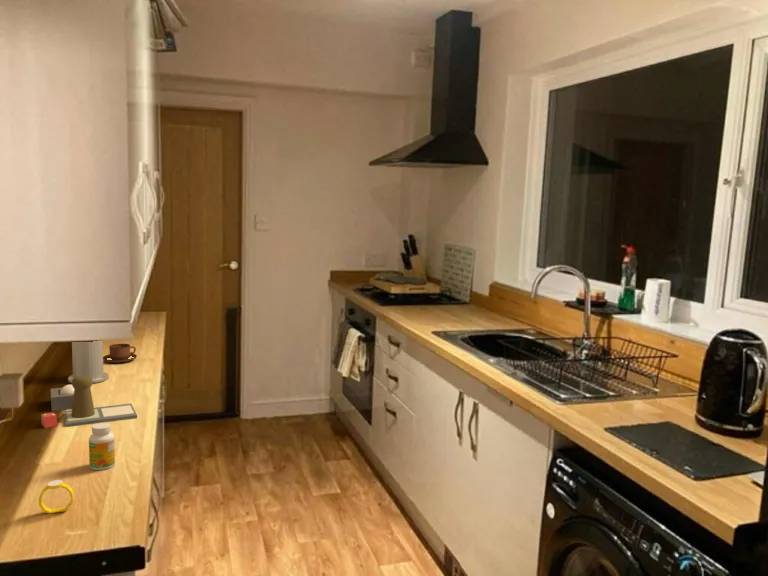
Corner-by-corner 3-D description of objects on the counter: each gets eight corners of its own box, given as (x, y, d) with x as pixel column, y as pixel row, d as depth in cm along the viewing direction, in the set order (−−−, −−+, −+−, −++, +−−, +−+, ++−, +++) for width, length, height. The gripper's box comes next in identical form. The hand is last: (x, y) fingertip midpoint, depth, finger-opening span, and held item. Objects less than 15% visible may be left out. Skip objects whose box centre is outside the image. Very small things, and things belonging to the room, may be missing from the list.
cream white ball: (59, 400, 193) (59, 383, 192) (79, 398, 195) (78, 381, 195) (60, 405, 188) (59, 388, 187) (80, 403, 191) (80, 386, 190)
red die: (41, 425, 173) (41, 414, 173) (53, 422, 175) (53, 411, 175) (45, 428, 171) (44, 416, 171) (57, 425, 173) (56, 414, 173)
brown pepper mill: (85, 418, 177) (84, 380, 175) (66, 416, 178) (65, 378, 176) (99, 412, 182) (98, 374, 181) (80, 410, 184) (79, 373, 182)
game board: (64, 413, 183) (64, 410, 183) (131, 406, 192) (131, 403, 192) (66, 426, 173) (66, 423, 172) (137, 417, 181) (137, 414, 181)
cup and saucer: (121, 356, 254) (121, 341, 253) (143, 360, 249) (143, 344, 248) (96, 362, 243) (95, 346, 242) (118, 366, 238) (118, 350, 237)
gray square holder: (50, 401, 194) (50, 388, 193) (87, 397, 199) (86, 385, 198) (51, 411, 185) (51, 397, 185) (89, 406, 190) (89, 393, 189)
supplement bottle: (84, 469, 146) (83, 428, 144) (98, 460, 151) (97, 420, 150) (106, 471, 145) (105, 430, 143) (119, 462, 150) (118, 422, 149)
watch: (75, 506, 128) (74, 478, 127) (73, 512, 125) (72, 483, 125) (41, 510, 126) (40, 481, 125) (38, 516, 123) (37, 487, 123)
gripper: (72, 266, 188) (74, 323, 191) (75, 275, 173) (77, 336, 176) (100, 266, 192) (101, 321, 195) (105, 274, 177) (107, 334, 180)
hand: (90, 328), depth 185 cm, fingers open, 9 cm apart
